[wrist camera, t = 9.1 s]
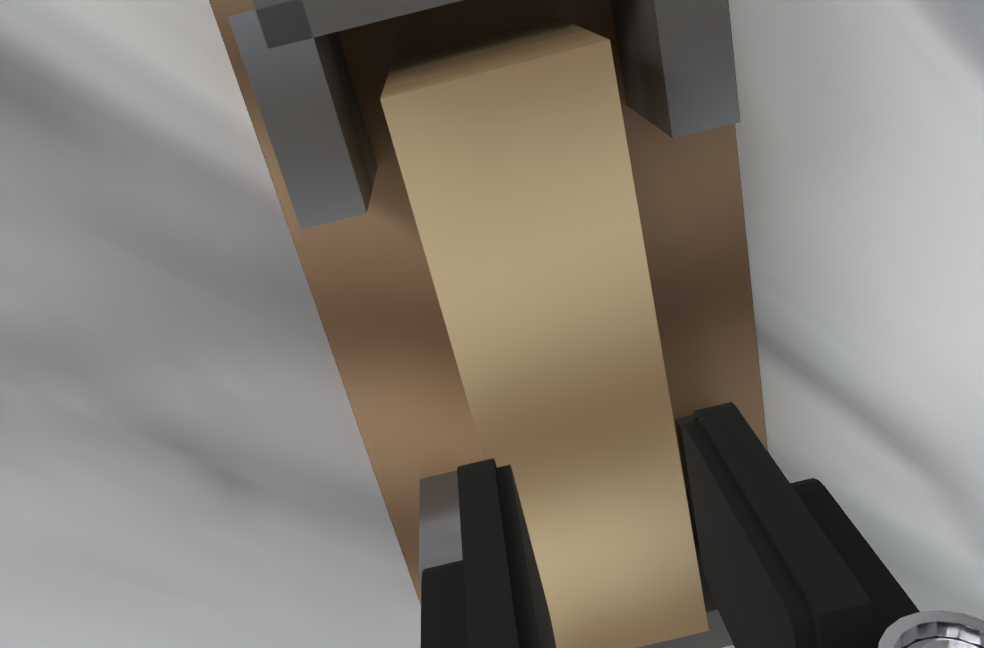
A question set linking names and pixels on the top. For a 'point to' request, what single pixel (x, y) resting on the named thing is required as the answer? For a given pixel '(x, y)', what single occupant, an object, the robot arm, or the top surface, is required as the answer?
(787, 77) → the top surface
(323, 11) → the rail
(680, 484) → the beige rectangular block
